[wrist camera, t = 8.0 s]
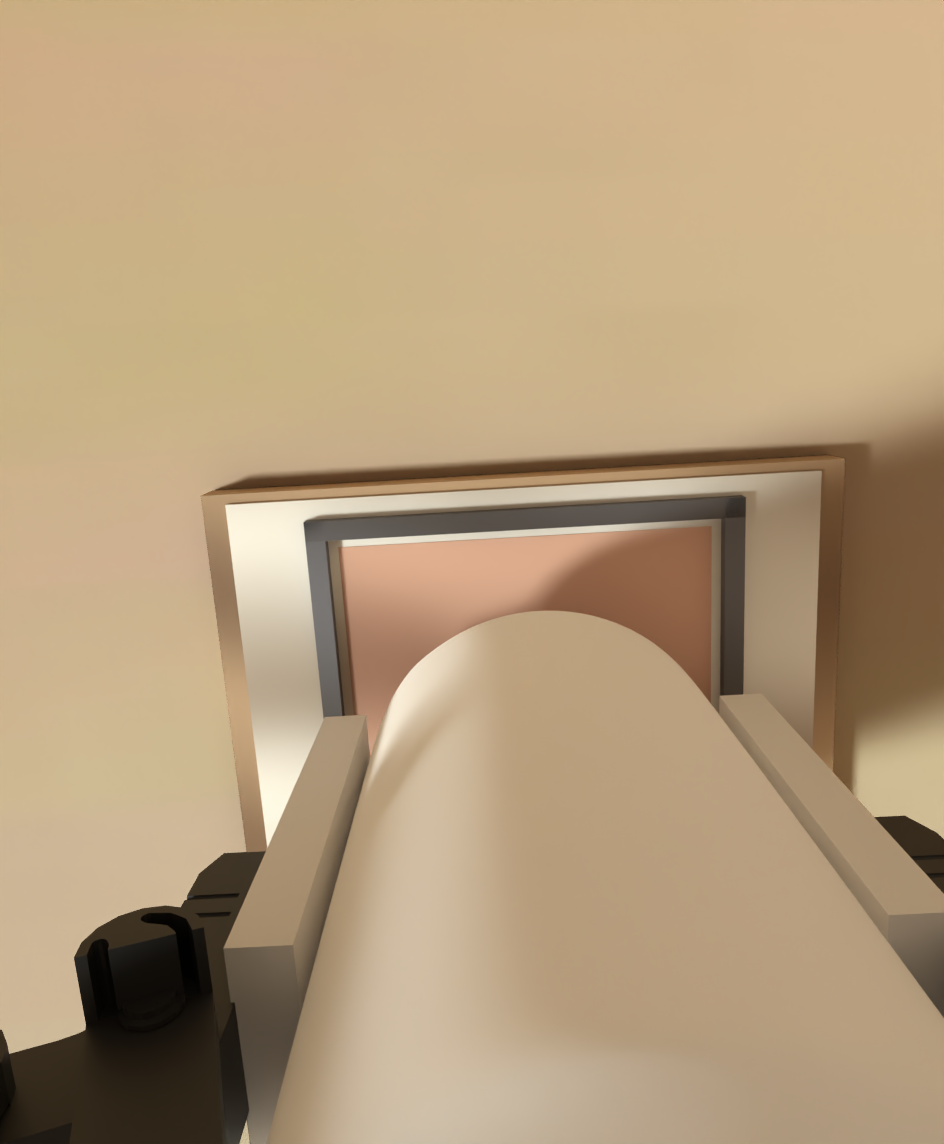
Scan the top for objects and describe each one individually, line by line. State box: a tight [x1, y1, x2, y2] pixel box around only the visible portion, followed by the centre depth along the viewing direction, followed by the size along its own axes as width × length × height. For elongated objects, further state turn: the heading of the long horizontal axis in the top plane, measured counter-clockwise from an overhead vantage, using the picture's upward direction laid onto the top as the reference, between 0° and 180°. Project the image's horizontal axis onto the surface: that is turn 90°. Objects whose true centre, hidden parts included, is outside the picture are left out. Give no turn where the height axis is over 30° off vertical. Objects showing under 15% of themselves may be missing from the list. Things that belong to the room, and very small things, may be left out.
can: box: [267, 611, 944, 1144], centre depth 10 cm, size 6×6×12 cm
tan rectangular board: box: [201, 455, 845, 852], centre depth 19 cm, size 18×13×3 cm
